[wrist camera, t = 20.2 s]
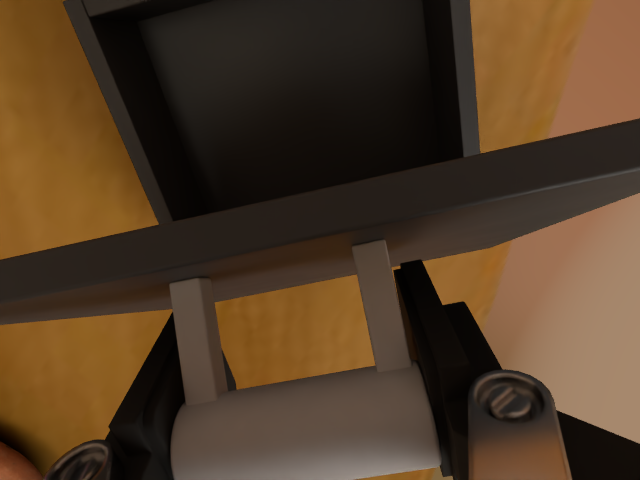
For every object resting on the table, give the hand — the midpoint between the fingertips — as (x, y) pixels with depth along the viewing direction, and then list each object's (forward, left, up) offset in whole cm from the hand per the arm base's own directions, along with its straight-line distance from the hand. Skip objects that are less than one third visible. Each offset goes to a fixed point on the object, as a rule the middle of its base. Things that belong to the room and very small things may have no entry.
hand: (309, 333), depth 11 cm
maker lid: (-1, 0, -4) cm, 4 cm away
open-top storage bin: (-3, 0, -16) cm, 17 cm away
